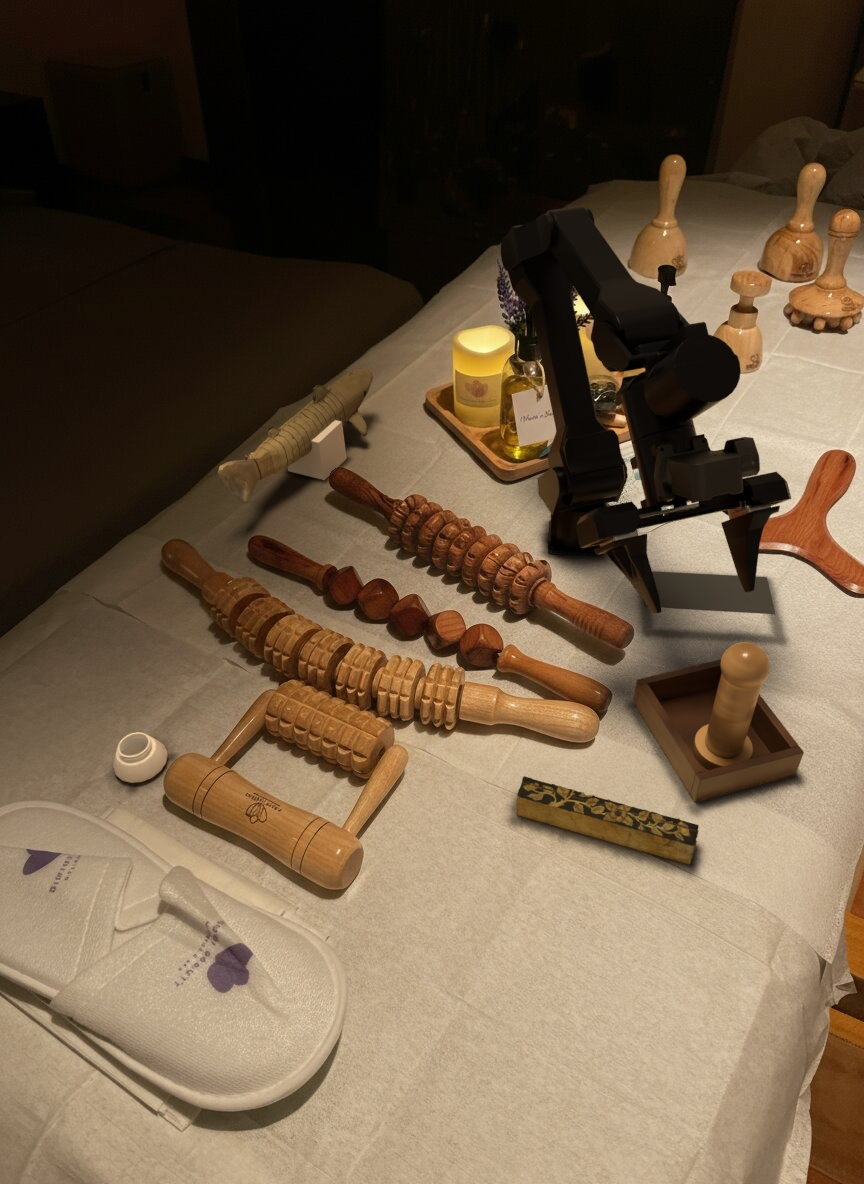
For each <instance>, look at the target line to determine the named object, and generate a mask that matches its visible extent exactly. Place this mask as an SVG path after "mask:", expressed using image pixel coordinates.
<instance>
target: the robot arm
mask: <svg viewBox="0 0 864 1184" xmlns="http://www.w3.org/2000/svg"><path fill="white" fill-rule="evenodd" d="M500 260H501V263H502V267H503V269H504V270H505V272H507V274H508V278H509V282H510V285H511V289H512V291H513V292H514V293H515V294H516V295H517V296H518V297H519V298H520V299H521V300H522V301H523V302H524V303H525V304H526V305H527V306H528V307H529V308H530V312H531V315H532V321H533V325H534V329H535V330H534V331H535V335H536V340H537V344H538V349H539V354H540V355H539V356H540V358H541V364H542V369H543V373H544V378H545V382H546V387H547V392H548V397H549V401H550V407H551V411H552V416H553V421H554V425H555V435H554V438H553V440H552V443H551V446H550V449H549V452H548V455H547V462H548V469H547V470H546V471H545V472H543V473H541V475H539V476H538V477H537V479H536V483H537V490H538V491H537V492H538V496H539V497H540V499H541V500H542V502H543V503H544V505H545V507H546V508H547V510H548V511H549V512H550V517H549V518H550V519H549V521H548V538H547V553H548V554H553V555H571V556H574V555H575V556H592V557H594V556H595V557H599V556H601V555H603V554H604V555H605V556H606V557H607V558H608V559H609V560H610V562H612V564H613V565H615V567H617V569H618V570H619V571H620V572H621V573H622V574H623V576H625V578H626V579H627V580H628V581H629V582H630V584H631V585H632V587H633V588H634V589H635V591H636V592H637V594H638V595H639V596H640V597H641V599H642V600H643V602H644V604H645V603H646V604H647V605H648V607H647V608H649V610H650V611H651V613H653V614H654V615H655V614H660V613H662V608H661V604H660V598H659V593H658V590H657V587H656V583H655V580H654V576H653V573H652V571H653V570H652V566H651V564H650V560H649V557H648V534H647V533H643V534H639V532H638V530H640V529H646V528H651V527H654V526H660V525H663V524H668V523H669V524H670V523H672V522H677V521H678V522H679V521H682V520H687V519H692V518H697V517H702V516H706V515H712V514H716V513H720V512H722V513H723V514H725V515H726V516H728V520H725V521H722V522H721V523H720V524H721V528H722V530H723V535H724V537H725V540H726V543H727V546H728V550H729V552H730V556H731V558H732V562H733V565H734V568H735V572H736V576H738V578H739V580H740V582H741V584H742V587H743V589H744V591H745V592H751V591H754V589H755V580H756V577H757V569H758V562H759V552H760V545H761V540H762V537H763V532H764V529H765V527H766V525H767V523H768V521H769V520H770V518H771V516H772V515H775V514H777V513H779V512H780V510H781V509H780V508H781V506H780V505H778V504H782V503H783V502H786V501H789V500H792V496H791V491H790V487H789V482H788V480H786V478H784V477H783V476H782V475H781V474H780V473H778V471H772V472H768V473H763V474H759V472H760V471H761V463H760V462H761V461H760V454H759V452H758V448H757V445H756V441H755V439H754V437H750V436H749V437H748V436H742V437H736V438H732V439H727V440H726V441H725V442H724V447H723V448H722V449H717V450H712V449H711V448H710V445H709V442H708V438H706V436H705V433H702V434H697V430H696V427H695V423H694V419H696V418H698V417H699V416H700V415H702V414H703V413H705V412H707V411H708V410H710V409H711V408H713V407H714V406H716V405H717V404H719V403H720V402H722V401H724V400H725V399H726V398H728V397H729V396H731V395H732V393H733V392H734V391H735V390H736V389H737V387H738V384H739V382H740V379H741V371H742V370H741V362H740V359H739V356H738V355H737V354H736V353H735V352H734V351H733V349H732V348H731V346H729V345H728V344H727V343H726V342H725V341H724V340H723V339H721V338H719V337H717V336H714V335H712V334H709V331H708V325H707V323H706V322H705V321H700V322H693V323H689V321H687V319H686V318H685V317H684V316H683V314H682V313H681V312H680V311H679V310H678V308H677V306H676V305H675V303H674V302H673V301H672V300H671V299H669V298H668V297H667V296H666V295H665V294H663V292H662V291H660V290H659V289H658V288H656V287H653V286H650V285H647V284H644V283H641V282H639V281H637V280H636V279H634V277H633V276H632V275H631V274H630V272H629V271H628V269H627V268H626V267H625V265H624V264H623V262H622V261H621V259H620V258H619V257H618V255H617V253H615V251H614V250H613V248H612V247H611V246H610V244H609V242H608V241H607V240H606V239H605V237H604V236H603V234H602V233H601V232H600V230H599V228H598V227H597V226H596V223H595V217H594V213H593V212H592V210H591V209H590V208H589V207H584V206H583V205H579V206H578V205H577V206H573V207H565V208H557V209H550V210H547V211H546V212H545V213H541V214H540V215H539V216H538V217H537V218H536V219H534V220H531V221H529V222H527V223H524V224H520V225H513V226H512V227H510V229H509V231H508V233H507V234H506V235H505V236H504V237H503V238H502V240H501V243H500ZM573 290H575V291H576V293H577V294H578V296H579V297H580V299H581V300H582V302H583V303H584V305H585V307H586V309H587V310H588V312H589V313H590V315H591V318H592V320H593V323H592V328H591V333H590V341H591V343H592V346H593V351H594V354H595V356H596V358H597V360H598V361H599V362H600V363H601V365H602V366H603V368H604V369H606V371H608V372H610V373H616V372H617V373H618V372H619V373H623V372H631V371H635V370H641V369H644V371H641V372H640V373H638V374H634V375H629V376H628V375H627V376H623V377H622V378H621V379H622V380H621V385H620V387H619V389H618V390H617V392H616V393H615V396H614V397H615V398H614V404H615V406H617V407H620V406H622V408H623V413H624V418H625V420H626V421H625V422H626V425H627V429H628V434H629V436H630V441H631V446H632V450H633V454H634V456H633V457H632V458H630V459H629V462H630V466H631V469H632V471H633V470H637V472H638V474H639V478H640V482H641V486H642V490H643V495H644V499H642V500H641V501H640V502H639V503H640V508H638V507H637V505H636V504H635V503H634V502H633V501H631V500H630V501H626V502H621V503H617V502H619V501H620V498H621V496H622V493H623V491H624V488H625V486H626V484H627V481H628V478H629V474H628V467H627V464H626V461H625V460H624V458H623V455H622V451H621V447H620V439H619V435H618V434H617V432H616V431H615V430H614V429H607V428H606V427H605V426H604V425H603V424H602V423H601V422H600V420H599V419H598V417H597V412H596V406H595V403H594V398H593V393H592V392H593V391H592V388H591V387H592V386H591V384H590V383H591V382H590V378H589V374H588V368H587V364H586V359H585V355H584V349H583V345H582V339H581V335H580V331H579V326H578V321H577V316H576V311H575V307H574V306H575V305H574V302H573V296H572V295H573V294H572V291H573ZM609 503H615V504H612V505H609ZM616 503H617V504H616ZM688 503H690V504H688ZM672 506H673V507H672ZM668 507H671V508H668ZM663 508H666V509H663Z"/></svg>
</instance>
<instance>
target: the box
mask: <svg viewBox="0 0 864 1184" xmlns="http://www.w3.org/2000/svg"><path fill="white" fill-rule="evenodd" d="M721 659H722V658H720V659H716V660H711V661H707V662H702V663H699V664H695V665H691V666H686V667H682V668H677V669H674V670H669V671H665V672H662V673H658V674H654V675H649V676H646V677H641V678H638V679H636V680H635V686H634V693H633V698H632V703H633V705H634V706H635V708H636V710H637V711H638V713H639V714H640V716H641V718H642V719H643V721H644V723H645V725H646V726H647V728H648V729H649V731H650V732H651V735H652V736H653V738H654V739H655V741H656V742H657V744H658V745H659V747H660V749H661V750H662V752H663V754H664V756H665V757H666V759H667V760H668V762H669V763H670V765H671V767H672V769H673V770H674V771H675V774H676V775H677V776H678V778H679V780H680V781H681V783H682V785H683V786H684V788H685V790H686V791H687V793H688V795H689V796H690V798H691V799H692V801H693V802H694V803H698V802H702V801H705V800H709V799H713V798H716V797H720V796H725V795H727V794H731V793H735V792H739V791H741V790H747V789H750V788H752V787H753V788H754V787H757V786H760V785H764V784H767V783H771V782H775V781H778V780H782V779H785V778H791V777H793V776H796V775H797V773H798V770H799V767H800V765H801V762H802V760H803V756H804V754H805V752H804V750H803V749H802V747H801V746H800V745H799V743H798V742H797V741H796V740H795V739H794V737H793V736H792V734H791V733H790V732H789V731H788V729H787V728H786V727H785V725H784V724H783V723H782V722H781V720H780V719H779V718H778V716H777V715H776V714H775V712H774V711H773V710H772V708H771V707H770V706H769V704H768V703H767V702H766V701H765V700H764V698H763V697H762V696H761V694H760V693H759V696H758V699H757V703H756V706H755V709H754V713H753V716H752V720H751V723H750V726H749V730H748V733H747V736H748V737H749V739H750V740H751V743H752V746H753V753H752V756H751V759H748V760H745V761H741V762H737V763H733V764H730V765H726V766H722V767H719V768H715V769H711V770H709V769H707V768H705V767H704V766H703V765H702V764H700V762H699V761H698V760H697V759H696V757H695V755H694V752H693V744H694V740H695V736H696V733H697V732H698V731H699V729H701V728H702V727H703V726H705V725H708V724H709V721H710V717H711V713H712V709H713V705H714V701H715V697H716V693H717V689H718V685H719V681H720V677H721V673H722V672H721V665H720V664H721Z"/></svg>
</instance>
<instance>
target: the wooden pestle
mask: <svg viewBox="0 0 864 1184" xmlns="http://www.w3.org/2000/svg"><path fill="white" fill-rule="evenodd" d="M720 659H721V664H720V665H721V672H722V673H721V677H720V681H719V685H718V689H717V693H716V697H715V701H714V705H713V709H712V713H711V717H710V721H709V724H708V725H705V726H703V727H702V728H701V729H699V731H698V732H697V733H696V736H695V740H694V744H693V752H694V755H695V757H696V759H697V760H698V761H699V762H700V764H702V765H703V766H704V767H705V768H707V769H709V770H711V769H715V768H719V767H722V766H726V765H730V764H733V763H737V762H741V761H745V760H748V759H751V756H752V753H753V746H752V743H751V740H750V739H749V737H748V736H747V733H748V730H749V726H750V723H751V720H752V716H753V713H754V709H755V706H756V703H757V699H758V696H759V694H760V692H761V689H762V685H763V684H764V683H765V682H766V681H767V679H768V677H769V674H770V672H771V661H770V658H769V655H768V653H766V651H765V650H764V649H763V648H762V647H761V646H759V645H758V644H755V643H752V642H748V641H742V642H741V641H740V642H737V643H734V644H732V645H730V646H729V647H728V648H726V650H725V651H724V652H723V654H722V656H721V658H720Z"/></svg>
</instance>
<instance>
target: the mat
mask: <svg viewBox="0 0 864 1184" xmlns="http://www.w3.org/2000/svg"><path fill="white" fill-rule="evenodd" d="M652 573H653V576H654V580H655V583H656V587H657V590H658V593H659V598H660V604H661V609H671V610H673V609H674V610H689V611H690V610H692V611H710V612H725V613H726V612H727V613H744V614H745V613H746V614H759V615H760V614H762V615H763V614H764V615H776V610H775V609H776V608H775V606H774V602H773V597H772V594H771V589H770V584H769V581H768V577H767V576H756V580H755V589H754V591H751V592H745V591H744V589H743V587H742V584H741V582H740V580H739V578H738V575H735V574H715V573H714V574H711V573H696V572H695V573H694V572H676V571H675V572H674V571H656V570H655V571H654V570H652ZM644 607H645V608H649V607H648V605H647V604H646V603H645V602H644Z"/></svg>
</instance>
